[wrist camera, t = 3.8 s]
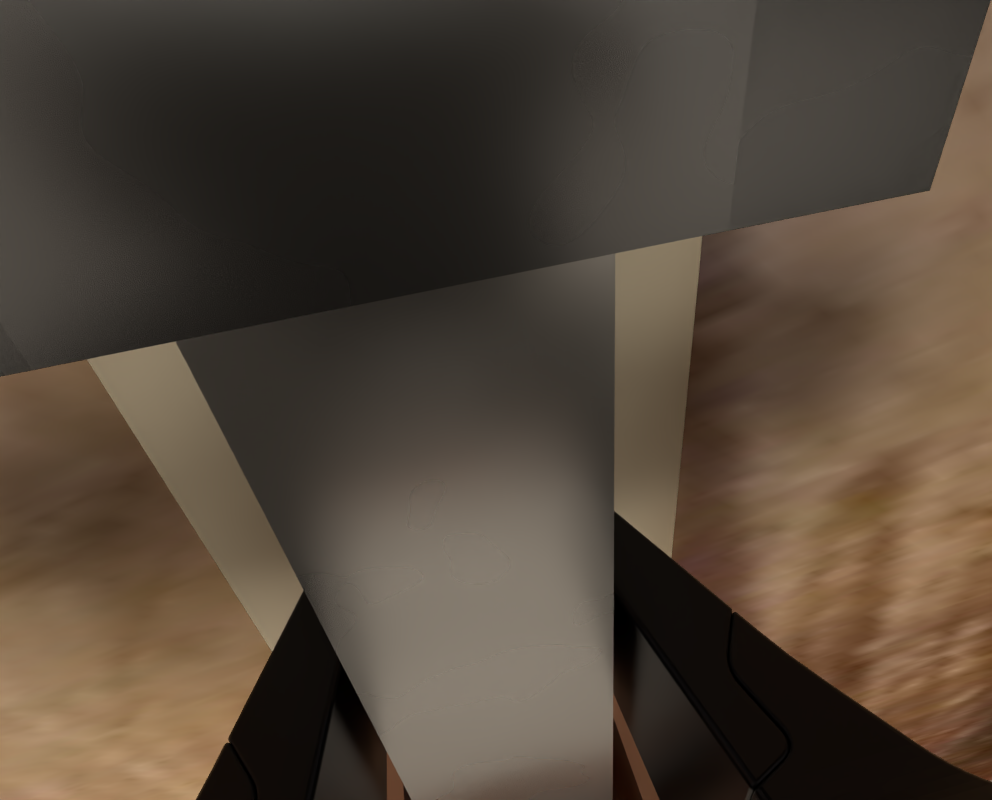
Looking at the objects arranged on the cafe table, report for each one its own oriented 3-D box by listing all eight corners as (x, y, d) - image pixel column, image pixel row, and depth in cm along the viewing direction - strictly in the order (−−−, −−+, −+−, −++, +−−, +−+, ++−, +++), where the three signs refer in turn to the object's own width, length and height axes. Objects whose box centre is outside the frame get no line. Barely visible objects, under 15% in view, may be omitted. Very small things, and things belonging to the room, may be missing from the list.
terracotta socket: (637, 583, 14) (767, 860, 10) (633, 675, 17) (735, 927, 12) (321, 664, 14) (313, 999, 9) (367, 746, 16) (377, 1038, 12)
